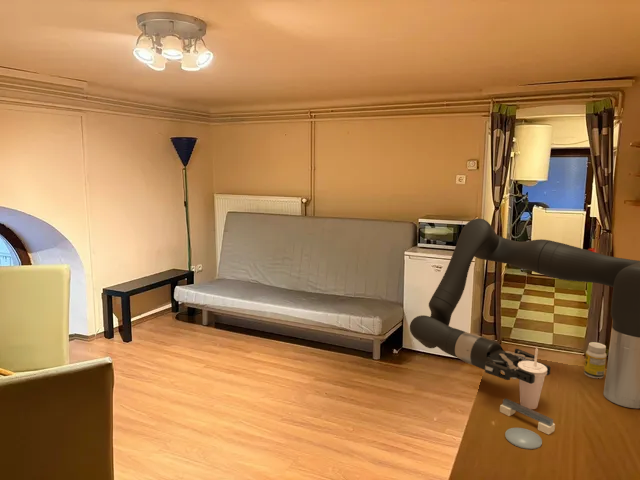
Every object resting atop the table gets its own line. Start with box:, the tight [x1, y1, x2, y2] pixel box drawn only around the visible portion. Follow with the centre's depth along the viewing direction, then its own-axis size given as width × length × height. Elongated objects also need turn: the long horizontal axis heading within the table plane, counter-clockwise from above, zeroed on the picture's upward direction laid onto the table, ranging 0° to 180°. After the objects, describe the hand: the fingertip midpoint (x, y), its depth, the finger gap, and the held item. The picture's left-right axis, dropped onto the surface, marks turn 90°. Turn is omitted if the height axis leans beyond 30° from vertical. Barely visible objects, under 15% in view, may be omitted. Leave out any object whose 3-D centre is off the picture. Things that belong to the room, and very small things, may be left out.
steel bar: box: [502, 398, 554, 426], centre depth 108 cm, size 11×1×1 cm, turn 38°
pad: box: [504, 427, 543, 450], centre depth 101 cm, size 7×7×1 cm
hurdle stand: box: [499, 403, 556, 435], centre depth 108 cm, size 11×2×2 cm, turn 38°
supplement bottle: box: [583, 341, 607, 379], centre depth 130 cm, size 5×5×8 cm
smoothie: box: [517, 347, 548, 410], centre depth 114 cm, size 6×6×14 cm
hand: (541, 375), depth 111 cm, fingers closed on smoothie, 6 cm apart
